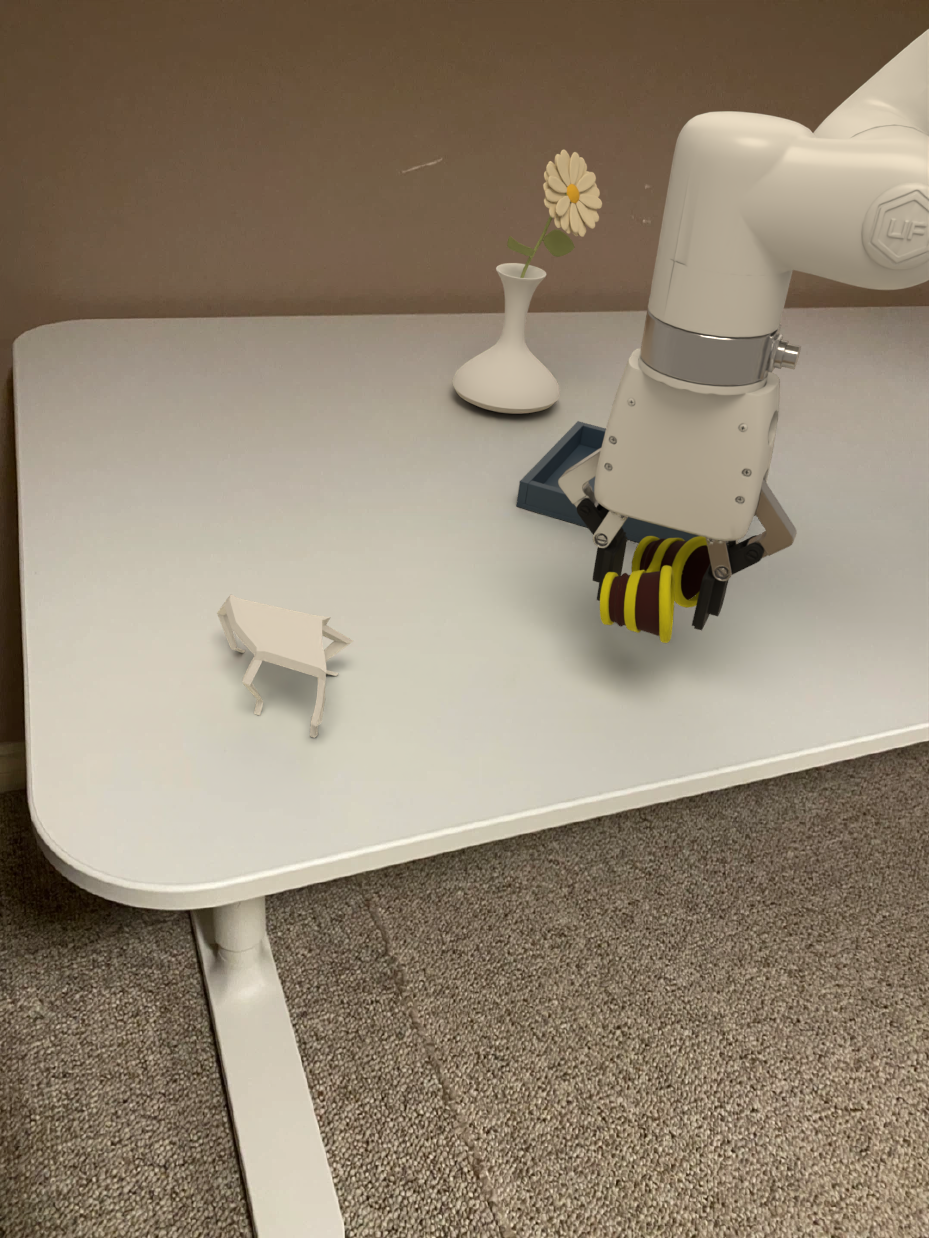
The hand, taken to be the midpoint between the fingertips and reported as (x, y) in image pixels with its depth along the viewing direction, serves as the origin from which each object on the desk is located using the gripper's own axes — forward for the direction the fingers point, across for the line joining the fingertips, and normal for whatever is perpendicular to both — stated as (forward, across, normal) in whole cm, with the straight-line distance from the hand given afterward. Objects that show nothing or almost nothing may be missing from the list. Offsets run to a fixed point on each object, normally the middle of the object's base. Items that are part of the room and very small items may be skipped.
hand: (654, 603), depth 73 cm
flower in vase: (+6, +26, -40) cm, 48 cm away
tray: (+6, +8, -26) cm, 27 cm away
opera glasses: (+1, 0, 0) cm, 1 cm away
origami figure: (+5, +21, +14) cm, 26 cm away
